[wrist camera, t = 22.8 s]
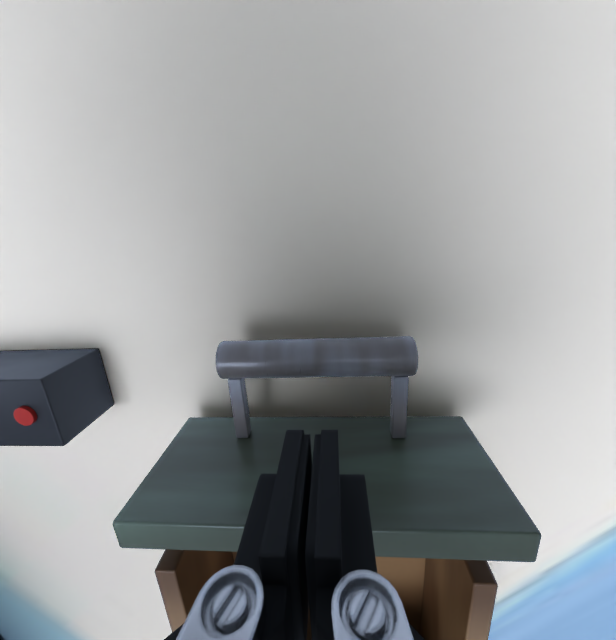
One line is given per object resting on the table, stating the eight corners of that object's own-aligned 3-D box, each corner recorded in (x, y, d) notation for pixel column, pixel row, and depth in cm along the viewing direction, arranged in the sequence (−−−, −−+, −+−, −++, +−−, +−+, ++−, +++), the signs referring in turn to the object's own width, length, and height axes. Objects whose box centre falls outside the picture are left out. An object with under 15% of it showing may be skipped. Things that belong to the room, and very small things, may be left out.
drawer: (172, 333, 14) (71, 402, 9) (472, 324, 13) (574, 397, 8) (234, 645, 21) (200, 797, 16) (435, 658, 20) (476, 826, 15)
